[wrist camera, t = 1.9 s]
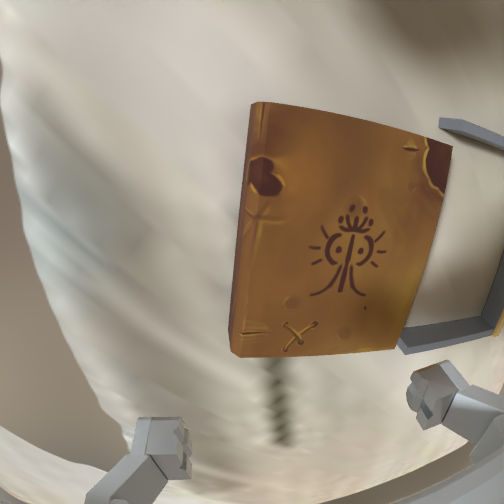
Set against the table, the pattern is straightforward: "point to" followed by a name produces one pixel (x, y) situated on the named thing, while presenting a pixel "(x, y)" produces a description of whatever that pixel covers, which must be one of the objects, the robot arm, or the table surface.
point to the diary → (330, 232)
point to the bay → (500, 298)
